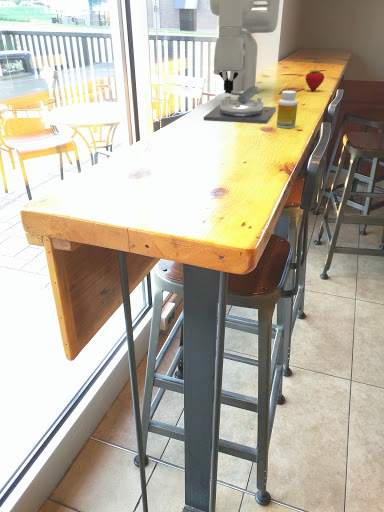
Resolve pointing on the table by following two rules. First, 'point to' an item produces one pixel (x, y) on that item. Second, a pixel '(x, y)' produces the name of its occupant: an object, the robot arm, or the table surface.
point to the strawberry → (314, 79)
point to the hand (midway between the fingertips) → (228, 92)
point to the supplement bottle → (287, 110)
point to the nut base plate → (260, 118)
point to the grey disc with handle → (242, 104)
